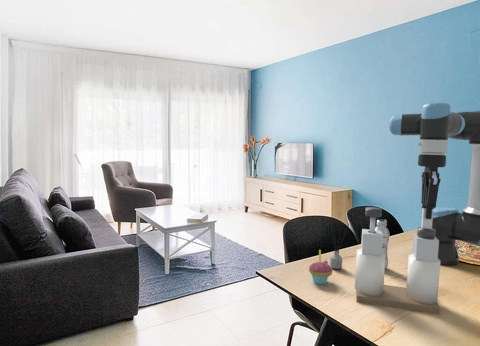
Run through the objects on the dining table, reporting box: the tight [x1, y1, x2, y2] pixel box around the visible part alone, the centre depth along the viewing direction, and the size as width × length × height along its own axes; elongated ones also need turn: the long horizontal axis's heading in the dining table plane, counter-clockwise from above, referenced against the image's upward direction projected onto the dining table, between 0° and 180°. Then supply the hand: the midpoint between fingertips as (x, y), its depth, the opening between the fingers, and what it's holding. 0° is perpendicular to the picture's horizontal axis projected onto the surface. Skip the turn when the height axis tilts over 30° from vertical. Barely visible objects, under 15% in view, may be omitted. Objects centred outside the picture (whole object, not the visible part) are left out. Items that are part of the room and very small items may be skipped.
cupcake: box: [308, 250, 334, 285], centre depth 124 cm, size 9×8×12 cm
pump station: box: [354, 228, 441, 315], centre depth 111 cm, size 25×12×22 cm, turn 73°
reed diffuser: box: [322, 219, 350, 270], centre depth 136 cm, size 10×7×20 cm
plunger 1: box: [364, 206, 383, 233], centre depth 111 cm, size 5×5×9 cm
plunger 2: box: [416, 226, 436, 239], centre depth 107 cm, size 5×5×9 cm
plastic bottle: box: [375, 219, 390, 270], centre depth 137 cm, size 6×7×20 cm
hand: (426, 228), depth 107 cm, fingers closed
